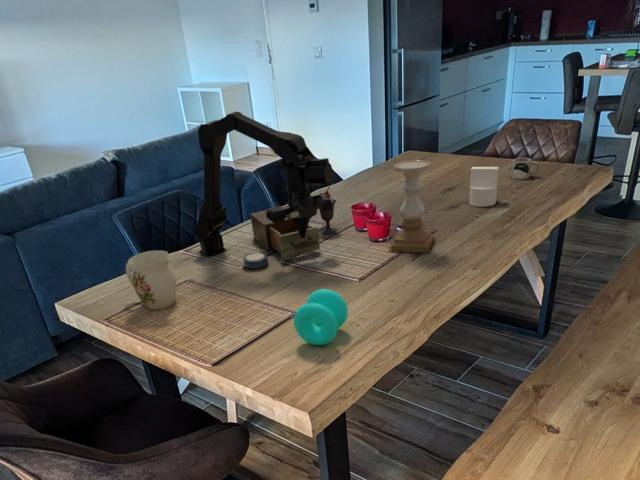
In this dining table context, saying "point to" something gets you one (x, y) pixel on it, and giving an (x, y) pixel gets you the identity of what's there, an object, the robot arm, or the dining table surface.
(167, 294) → the pitcher
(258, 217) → the cabinet
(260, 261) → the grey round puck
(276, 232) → the drawer
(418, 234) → the candle holder
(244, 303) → the dining table surface
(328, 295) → the teal spool
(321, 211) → the sundae
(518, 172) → the mug
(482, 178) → the cylinder with rectangular tab
